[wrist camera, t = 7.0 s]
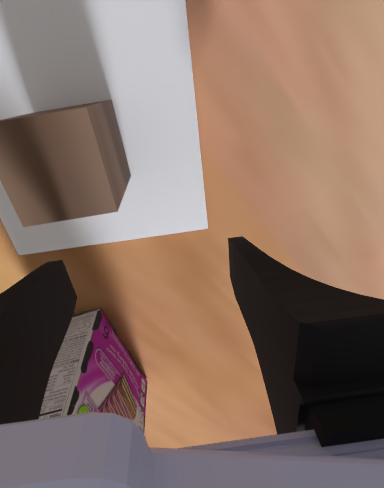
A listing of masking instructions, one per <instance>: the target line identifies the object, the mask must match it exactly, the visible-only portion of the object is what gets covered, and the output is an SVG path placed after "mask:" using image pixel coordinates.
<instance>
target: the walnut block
mask: <svg viewBox="0 0 384 488" xmlns="http://www.w3.org/2000/svg"><path fill="white" fill-rule="evenodd" d="M130 177H131V174H130V170H129V166H128V162H127V158H126V154H125V150H124V146H123V142H122V138H121V134H120V130H119V126H118V123H117V119H116V115H115V111H114V107H113V103H112V100H106V101H100V102H94V103H88V104H82V105H76V106H70V107H64V108H58V109H52V110H46V111H40V112H34V113H29V114H25V115H20V116H16V117H11V118H7V119H2V120H0V181H1V183H2V185H3V187H4V189H5V191H6V193H7V195H8V197H9V199H10V201H11V203H12V205H13V207H14V209H15V211H16V213H17V215H18V217H19V219H20V221H21V223H22V225H23V227H28V226H34V225H40V224H46V223H52V222H59V221H65V220H71V219H77V218H83V217H89V216H95V215H101V214H107V213H113V212H118V209H119V207H120V204H121V201H122V199H123V196H124V193H125V191H126V188H127V185H128V183H129V180H130Z"/></svg>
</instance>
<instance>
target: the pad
mask: <svg viewBox="0 0 384 488" xmlns="http://www.w3.org/2000/svg"><path fill="white" fill-rule="evenodd" d="M106 100H112V103H113V107H114V111H115V115H116V119H117V123H118V126H119V130H120V134H121V138H122V142H123V146H124V150H125V154H126V158H127V162H128V166H129V170H130V174H131V177H130V180H129V183H128V185H127V188H126V191H125V193H124V196H123V199H122V201H121V204H120V207H119V209H118V212H113V213H107V214H101V215H95V216H89V217H83V218H77V219H71V220H65V221H59V222H52V223H46V224H40V225H34V226H28V227H23V225H22V223H21V221H20V219H19V217H18V215H17V213H16V211H15V209H14V207H13V205H12V203H11V201H10V199H9V197H8V195H7V193H6V191H5V189H4V187H3V185H2V183H1V181H0V219H1V221H2V223H3V225H4V227H5V229H6V231H7V233H8V235H9V237H10V239H11V241H12V243H13V245H14V247H15V249H16V251H17V253H18V255H26V254H33V253H40V252H47V251H54V250H61V249H68V248H75V247H82V246H89V245H96V244H103V243H110V242H117V241H124V240H131V239H138V238H145V237H152V236H159V235H166V234H173V233H180V232H187V231H194V230H201V229H208V223H207V213H206V203H205V193H204V183H203V173H202V163H201V153H200V143H199V133H198V123H197V113H196V103H195V93H194V83H193V73H192V63H191V53H190V43H189V33H188V23H187V13H186V3H185V0H0V120H2V119H7V118H11V117H16V116H20V115H25V114H29V113H34V112H40V111H46V110H52V109H58V108H64V107H70V106H76V105H82V104H88V103H94V102H100V101H106Z"/></svg>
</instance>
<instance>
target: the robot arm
mask: <svg viewBox="0 0 384 488" xmlns="http://www.w3.org/2000/svg"><path fill="white" fill-rule="evenodd" d="M228 243H229V263H230V278H231V282H232V286H233V290H234V294H235V297H236V300H237V302H238V305H239V307H240V310H241V312H242V315H243V317H244V320H245V322H246V325H247V327H248V330H249V332H250V335H251V338H252V340H253V343H254V346H255V350H256V353H257V357H258V361H259V364H260V368H261V372H262V375H263V379H264V383H265V387H266V390H267V394H268V398H269V402H270V406H271V410H272V414H273V418H274V422H275V426H276V430H277V435H271V436H263V437H256V438H249V439H242V440H235V441H227V442H220V443H213V444H206V445H199V446H191V447H184V448H177V449H174V448H149V446H148V444H147V441H146V438H145V436H144V433H143V432H142V431H141V430H140V429H139V428H138V427H137V426H136V425H135V424H134V422H133V421H132V420H131V419H128V418H125V417H123V416H120V415H117V414H114V413H96V412H88V413H81V414H74V415H67V416H59V417H52V418H45V419H39V416H40V411H41V407H42V403H43V399H44V395H45V392H46V388H47V385H48V381H49V377H50V374H51V371H52V368H53V365H54V363H55V360H56V358H57V355H58V353H59V350H60V348H61V345H62V343H63V340H64V338H65V335H66V333H67V330H68V328H69V325H70V322H71V320H72V317H73V313H74V309H75V304H76V299H77V296H76V293H75V291H74V288H73V286H72V283H71V281H70V278H69V276H68V273H67V271H66V268H65V266H64V263H63V261H62V260H59V261H51V262H47V263H45V264H43V265H42V266H40V267H39V268H37V269H36V270H34V271H33V272H31V273H30V274H28V275H27V276H26V277H24V278H23V279H21V280H20V281H19V282H17V283H16V284H14V285H13V286H11V287H10V288H9V289H7V290H6V291H4V292H3V293H1V294H0V488H384V300H383V299H378V298H373V297H369V296H364V295H360V294H356V293H352V292H349V291H345V290H342V289H339V288H335V287H332V286H329V285H327V284H324V283H321V282H319V281H316V280H313V279H311V278H309V277H306V276H304V275H302V274H300V273H298V272H296V271H294V270H292V269H290V268H288V267H286V266H285V265H283V264H281V263H279V262H278V261H276V260H274V259H273V258H271V257H270V256H268V255H267V254H265V253H264V252H263V251H261V250H260V249H258V248H257V247H256V246H254V245H253V244H252V243H250V242H249V241H248V240H246V239H245V238H244V237H234V238H228Z"/></svg>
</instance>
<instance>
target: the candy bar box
mask: <svg viewBox="0 0 384 488" xmlns="http://www.w3.org/2000/svg"><path fill="white" fill-rule="evenodd" d="M146 393H147V380H146V379H145V377H144V376H143V374H142V373H141V371H140V369H139V368H138V366H137V365H136V363H135V362H134V360H133V359H132V357H131V356H130V354H129V353H128V351H127V349H126V348H125V346H124V345H123V343H122V342H121V340H120V339H119V337H118V335H117V334H116V332H115V331H114V329H113V328H112V326H111V324H110V323H109V321H108V320H107V318H106V316H105V315H104V313H103V312H102V310H101V309H100V308H99V309H95V310H90V311H87V312H85V313H82V314H79V315H76V316H73V317H72V320H71V322H70V325H69V328H68V330H67V333H66V335H65V338H64V340H63V343H62V345H61V348H60V350H59V353H58V355H57V358H56V360H55V363H54V365H53V368H52V371H51V374H50V377H49V381H48V385H47V388H46V392H45V395H44V399H43V403H42V407H41V411H40V416H39V419H45V418H52V417H59V416H67V415H74V414H81V413H88V412H96V413H114V414H117V415H120V416H123V417H125V418H128V419H131V420H132V421H133V422H134V424H135V425H136V426H137V427H138V428H139V429H140V430H141V431H142V432H143V433H144V427H145V407H146Z"/></svg>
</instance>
